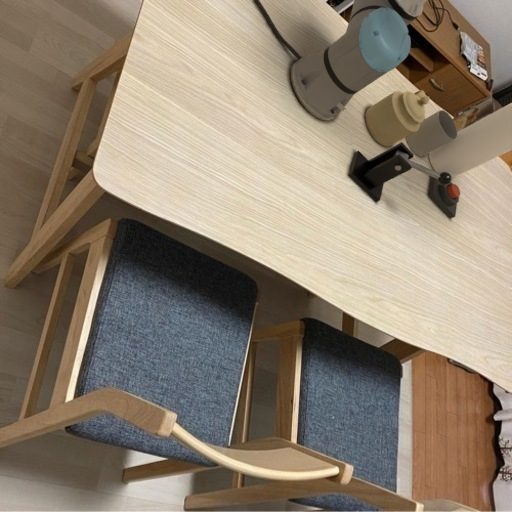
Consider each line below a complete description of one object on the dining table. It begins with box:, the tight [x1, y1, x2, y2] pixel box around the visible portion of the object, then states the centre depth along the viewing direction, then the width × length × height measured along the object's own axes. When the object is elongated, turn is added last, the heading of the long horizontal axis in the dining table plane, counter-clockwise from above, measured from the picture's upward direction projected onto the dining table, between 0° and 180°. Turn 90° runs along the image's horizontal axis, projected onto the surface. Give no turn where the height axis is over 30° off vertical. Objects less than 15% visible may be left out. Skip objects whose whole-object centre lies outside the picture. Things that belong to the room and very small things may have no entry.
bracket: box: [347, 141, 415, 203], centre depth 130 cm, size 10×8×12 cm
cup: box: [406, 109, 457, 157], centre depth 152 cm, size 8×8×10 cm
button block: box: [427, 176, 460, 219], centre depth 153 cm, size 10×8×4 cm
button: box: [447, 183, 461, 199], centre depth 152 cm, size 4×4×2 cm
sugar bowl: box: [365, 89, 431, 147], centre depth 141 cm, size 15×11×15 cm
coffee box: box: [452, 96, 504, 132], centre depth 163 cm, size 9×6×16 cm
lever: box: [392, 150, 453, 185], centre depth 127 cm, size 14×3×3 cm, turn 68°
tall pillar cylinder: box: [428, 102, 512, 179], centre depth 152 cm, size 11×11×25 cm
